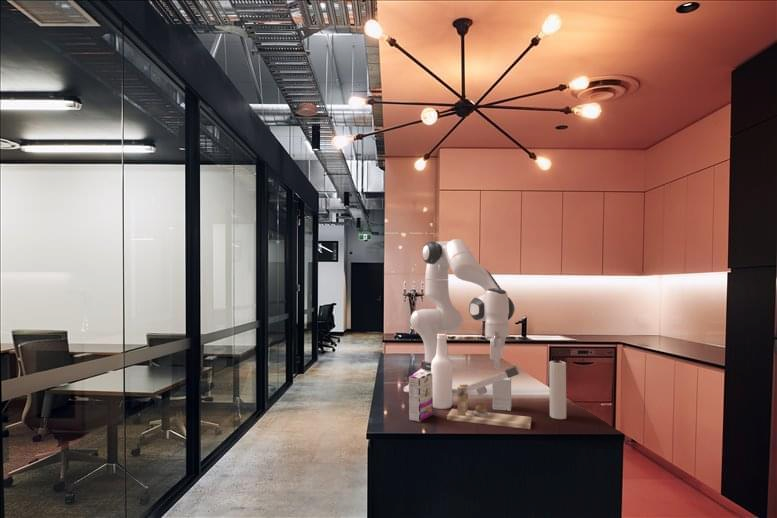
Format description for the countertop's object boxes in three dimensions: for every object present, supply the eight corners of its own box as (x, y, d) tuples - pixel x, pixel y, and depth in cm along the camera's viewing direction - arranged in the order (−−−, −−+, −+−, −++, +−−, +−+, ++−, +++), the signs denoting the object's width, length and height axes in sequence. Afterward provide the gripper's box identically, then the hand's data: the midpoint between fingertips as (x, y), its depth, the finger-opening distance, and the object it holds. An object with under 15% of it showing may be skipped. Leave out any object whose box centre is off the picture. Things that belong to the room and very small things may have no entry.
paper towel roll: (557, 420, 171) (557, 363, 172) (546, 416, 176) (545, 360, 177) (572, 418, 173) (571, 362, 174) (560, 414, 179) (559, 359, 180)
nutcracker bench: (447, 419, 170) (447, 387, 171) (452, 412, 180) (452, 382, 180) (530, 429, 160) (530, 395, 161) (531, 421, 170) (531, 388, 170)
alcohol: (454, 409, 185) (455, 335, 186) (434, 409, 183) (434, 335, 185) (448, 403, 193) (448, 332, 195) (428, 403, 192) (429, 333, 193)
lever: (462, 402, 172) (456, 389, 173) (463, 399, 175) (458, 387, 176) (521, 380, 165) (515, 367, 166) (521, 378, 169) (515, 365, 169)
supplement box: (511, 406, 189) (511, 376, 190) (510, 411, 182) (510, 379, 183) (493, 404, 192) (493, 374, 192) (492, 409, 185) (492, 378, 185)
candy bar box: (421, 412, 179) (422, 371, 180) (433, 415, 176) (433, 372, 177) (407, 420, 169) (408, 376, 170) (419, 422, 167) (419, 377, 167)
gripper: (503, 334, 160) (504, 374, 159) (507, 329, 179) (507, 364, 178) (485, 334, 162) (485, 373, 161) (490, 328, 181) (491, 363, 180)
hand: (497, 368), depth 170 cm, fingers closed
